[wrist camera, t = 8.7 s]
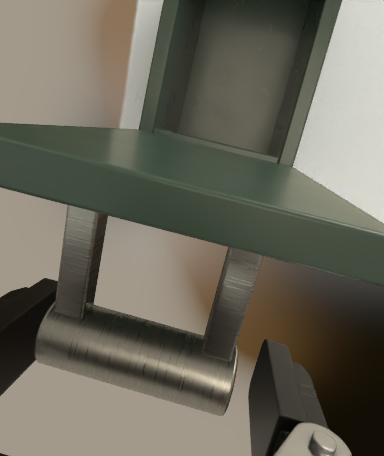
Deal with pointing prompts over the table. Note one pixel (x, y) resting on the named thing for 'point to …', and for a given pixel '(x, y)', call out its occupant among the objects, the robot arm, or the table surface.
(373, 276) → the bin lid
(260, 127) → the green storage bin
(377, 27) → the table surface
